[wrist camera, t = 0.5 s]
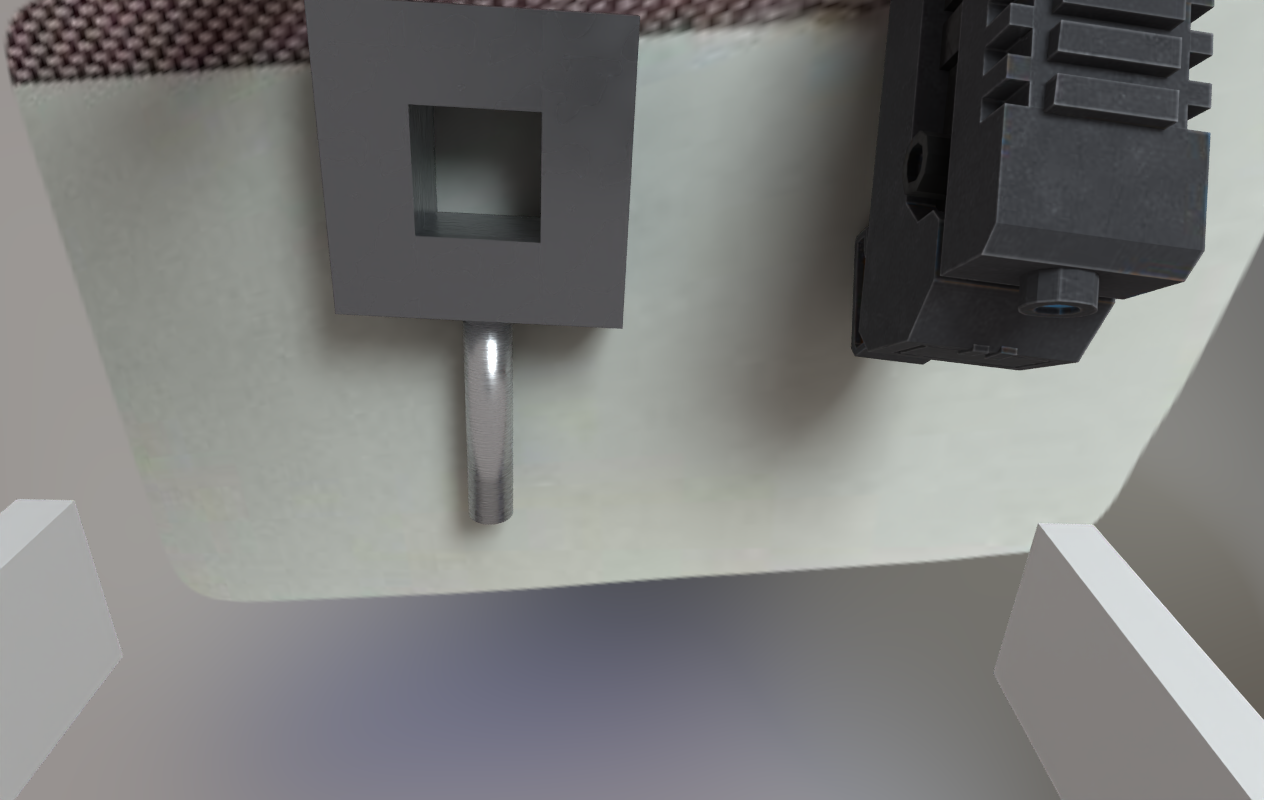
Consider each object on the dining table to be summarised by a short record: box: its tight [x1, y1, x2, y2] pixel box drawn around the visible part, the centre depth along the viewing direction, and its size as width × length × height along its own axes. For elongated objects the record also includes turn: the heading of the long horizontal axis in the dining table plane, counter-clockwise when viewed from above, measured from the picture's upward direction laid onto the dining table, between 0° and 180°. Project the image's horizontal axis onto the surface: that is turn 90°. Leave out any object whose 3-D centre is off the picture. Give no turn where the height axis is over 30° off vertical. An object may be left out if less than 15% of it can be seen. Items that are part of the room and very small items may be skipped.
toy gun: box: [851, 0, 1214, 370], centre depth 28 cm, size 6×19×15 cm
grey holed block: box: [304, 0, 640, 524], centre depth 34 cm, size 21×11×4 cm, turn 177°
